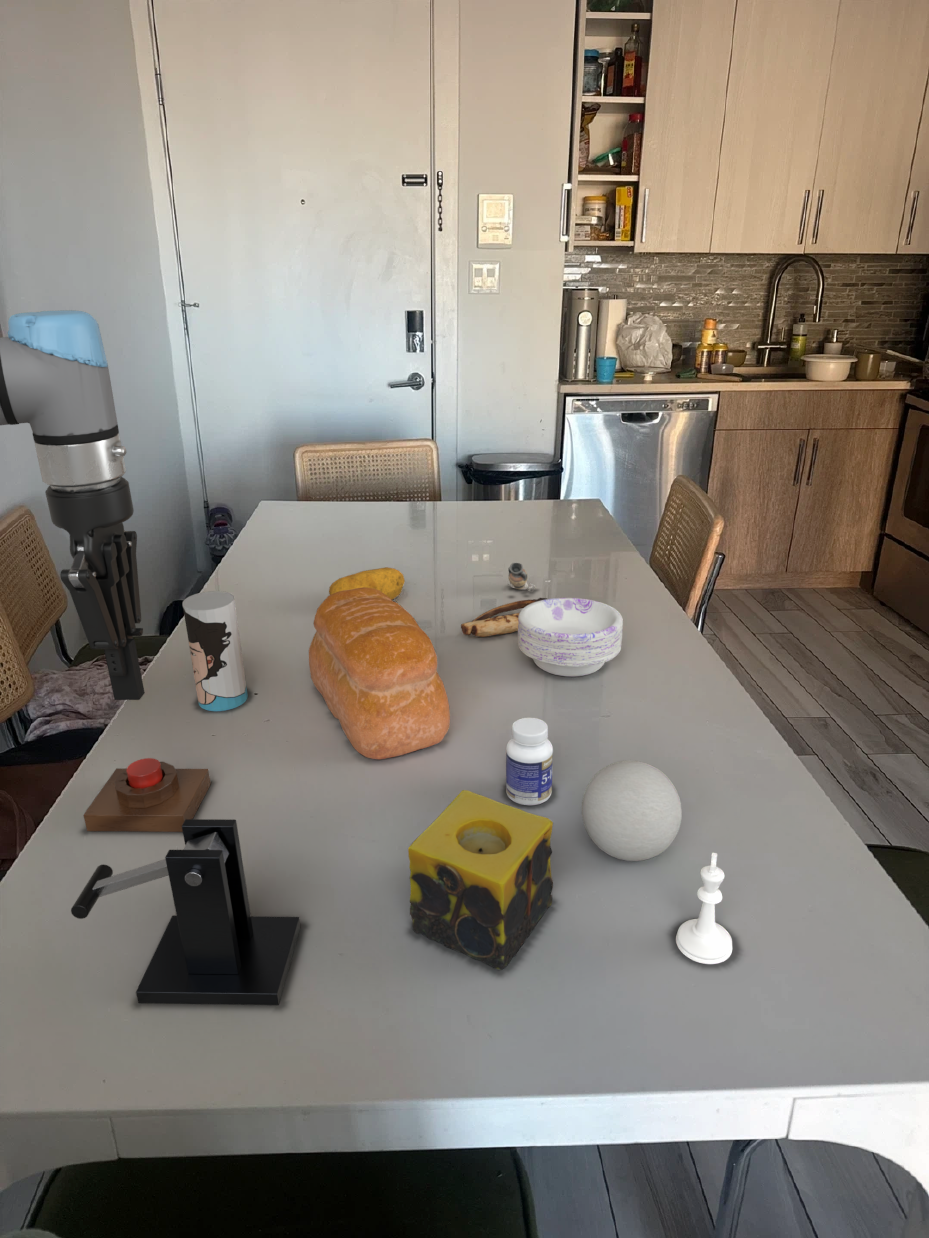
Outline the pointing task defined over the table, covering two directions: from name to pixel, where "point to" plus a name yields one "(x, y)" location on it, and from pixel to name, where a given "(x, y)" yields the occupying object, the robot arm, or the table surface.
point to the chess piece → (706, 923)
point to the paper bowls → (570, 635)
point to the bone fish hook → (496, 620)
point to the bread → (378, 674)
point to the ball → (631, 810)
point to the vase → (518, 577)
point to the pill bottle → (529, 762)
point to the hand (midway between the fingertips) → (129, 696)
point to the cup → (215, 650)
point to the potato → (372, 581)
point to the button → (144, 773)
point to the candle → (481, 878)
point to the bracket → (217, 931)
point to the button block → (148, 802)
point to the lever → (134, 875)
